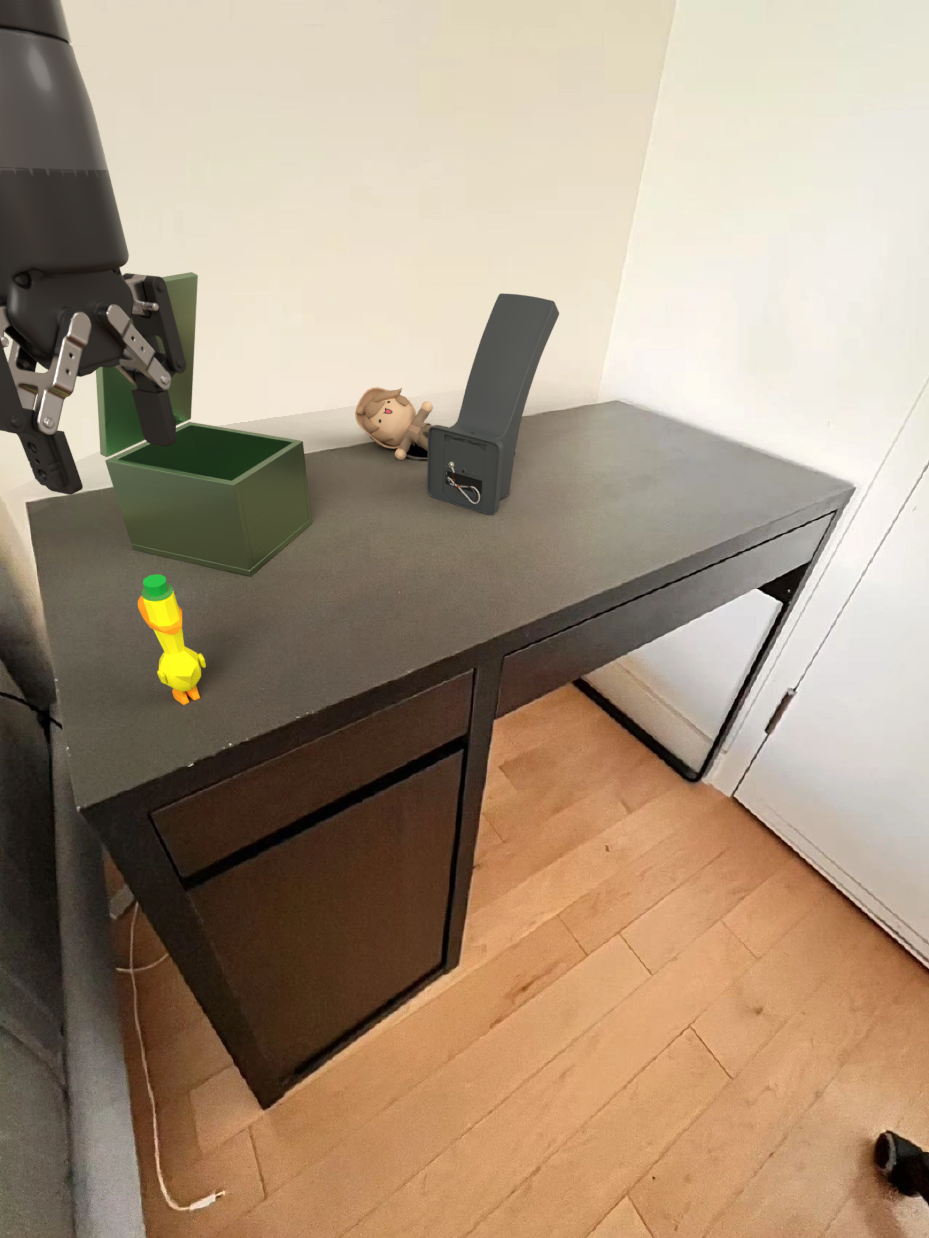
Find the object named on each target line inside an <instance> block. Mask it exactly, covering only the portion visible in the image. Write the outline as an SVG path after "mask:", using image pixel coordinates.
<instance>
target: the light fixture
mask: <svg viewBox="0 0 929 1238" xmlns="http://www.w3.org/2000/svg"><path fill="white" fill-rule="evenodd" d="M559 316H560V312H559V309H558V307H557V305H556V302H555V301H554V300H551V299H547V298H543V297H538V296H531V295H526V294H518V293H517V294H515V293H499V294H498V296H497V297H496V299H495V302H494V305H493V307H492V309H491V312H490V314H489V317H488V319H487V322H486V325H485V327H484V330H483V332H482V334H481V337H480V340H479V343H478V346H477V350H476V353H475V356H474V359H473V362H472V365H471V369H470V372H469V375H468V379H467V381H466V386H465V390H464V393H463V397H462V403H461V407H460V409H459V414H458V418H457V420H456V422H455V423H454V424H453V425H451V426H450V427H449V426H445V425H442V424H441V425H440V424H434V425H433V426H432V427H430V428H429V430H428V451H427V471H426V472H427V474H426V475H427V478H426V481H427V482H426V484H427V485H426V489H427V494H428V495H429V496H430V497H431V498H434V499H435V500H436V499H437V500H439V501H443V502H446V503H450V504H452V505H455V506H459V507H462V508H466V509H468V510H472V511H475V512H479V513H481V514H485V515H489V516H491V515H494V514H495V513H497V512H498V510H499V507H500V500H501V499H504V498H505V497H507V496H508V495H510V490H511V483H512V478H513V477H512V476H513V468H514V461H515V454H516V449H517V445H518V444H517V443H518V439H519V432H520V428H521V423H522V418H523V414H524V411H525V407H526V404H527V400H528V397H529V394H530V390H531V386H532V385H533V380H534V378H535V375H536V372H537V369H538V366H539V364H540V362H541V358H542V356H543V353H544V351H545V348H546V346H547V344H548V341H549V339H550V336H551V335H552V332H553V330H554V327H555V325H556V323H557V321H558V318H559Z"/></svg>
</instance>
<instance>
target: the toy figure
mask: <svg viewBox="0 0 929 1238" xmlns="http://www.w3.org/2000/svg"><path fill="white" fill-rule="evenodd" d="M142 581H143V582H142V585H143V588H142V590H141V595H140V596H139V598H138V600H137V609H138V610H139V613H140V616H141V617H142V619H143V620H144V622H145V623H146V624H147V626H148V628H150V629H151V630H153V631H154V634H155V636H156V638H157V640H158V642H159V644H160V646H161V648H162V650H163V653H162V654H161V656H160V657H159V660H158V670H157V671H156V674H157V677H158V678H159V680H160V683H161V684H164V685H167V686H168V687H170V688H172V690H171V691H172V695H173V698H174V699H175V701H177V702H178V703H180V704H181V705H183V706H185V705H187V704H189V703H190V700H189V698H191V699H192V700H193V701H196V700H199V699H201V696H200V692H199V690H198V686H197V684H198V682H199V681H200V679H201V677H202V668H203V669H205V668H206V667H207V665H206V664H207V663H206V659H205V657H204V655H203V654H202V653H201V652H200V653H198V652H196V651H195V650H193V649H190V648H189V647H187V646H185V641H184V639H185V638H184V632H183V609H182V608H181V607H180V606H179V605H178V602H177V598H176V594H175V590H174V588H173V586H172V585H171V584H170V583H167V577H166V576H164V575H162V574H160V573H159V574H158V573H157V574H150V575H148V576H146V577H145V578H143V580H142Z"/></svg>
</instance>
